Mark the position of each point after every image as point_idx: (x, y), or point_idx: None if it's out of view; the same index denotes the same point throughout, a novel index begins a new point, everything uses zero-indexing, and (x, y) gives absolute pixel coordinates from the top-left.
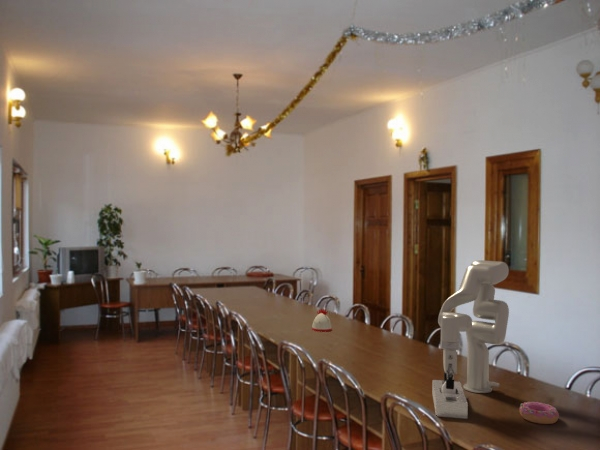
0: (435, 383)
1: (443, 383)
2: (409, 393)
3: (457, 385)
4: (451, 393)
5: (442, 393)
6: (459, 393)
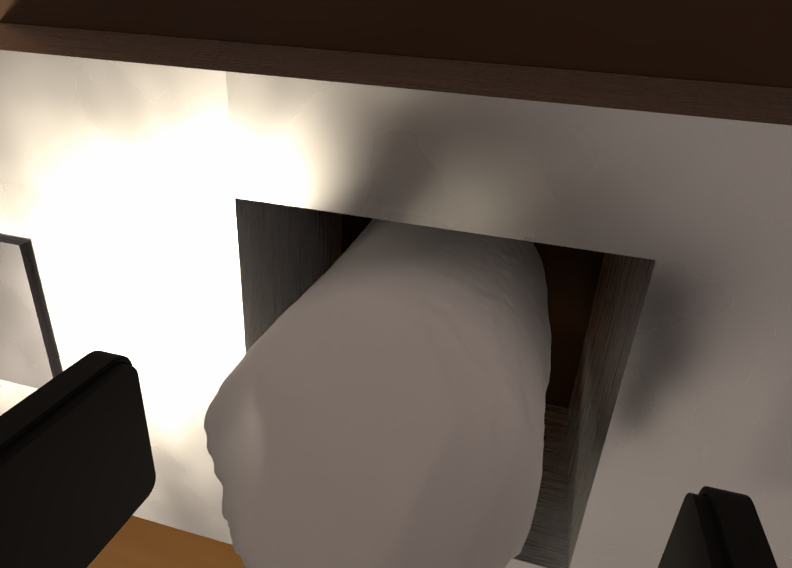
0: None
1: (29, 372)
2: (169, 546)
3: (4, 135)
4: (544, 380)
5: (602, 552)
6: (589, 231)
